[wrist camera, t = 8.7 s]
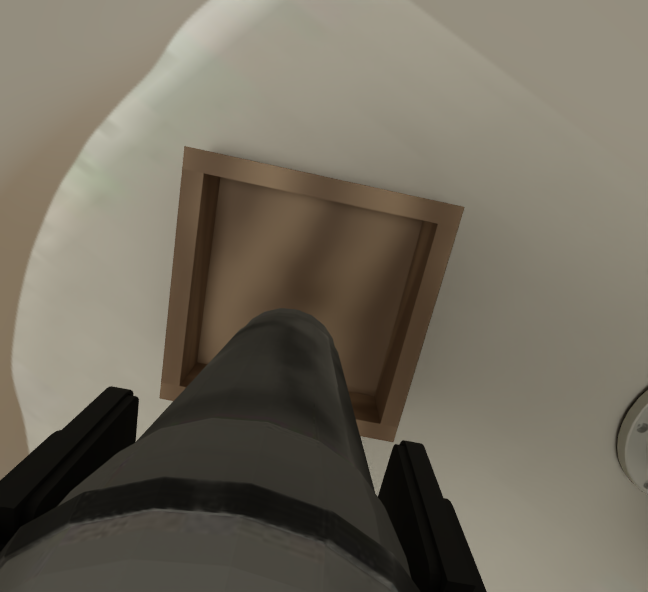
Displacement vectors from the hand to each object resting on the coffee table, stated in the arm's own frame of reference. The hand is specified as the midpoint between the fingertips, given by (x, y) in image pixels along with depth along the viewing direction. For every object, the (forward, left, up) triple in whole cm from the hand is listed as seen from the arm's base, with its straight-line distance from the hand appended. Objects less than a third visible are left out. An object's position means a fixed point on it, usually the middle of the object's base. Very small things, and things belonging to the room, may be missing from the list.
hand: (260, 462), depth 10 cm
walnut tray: (0, 0, -18) cm, 18 cm away
